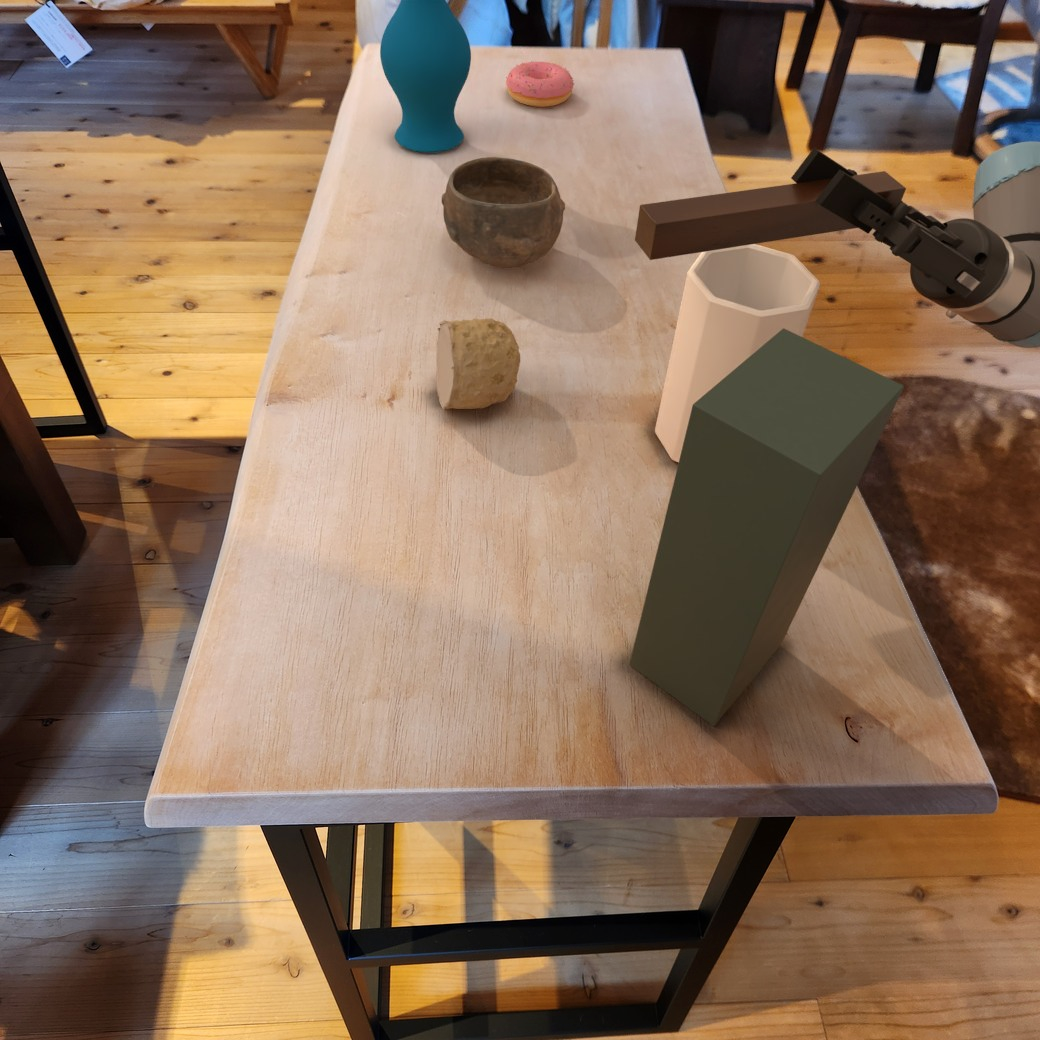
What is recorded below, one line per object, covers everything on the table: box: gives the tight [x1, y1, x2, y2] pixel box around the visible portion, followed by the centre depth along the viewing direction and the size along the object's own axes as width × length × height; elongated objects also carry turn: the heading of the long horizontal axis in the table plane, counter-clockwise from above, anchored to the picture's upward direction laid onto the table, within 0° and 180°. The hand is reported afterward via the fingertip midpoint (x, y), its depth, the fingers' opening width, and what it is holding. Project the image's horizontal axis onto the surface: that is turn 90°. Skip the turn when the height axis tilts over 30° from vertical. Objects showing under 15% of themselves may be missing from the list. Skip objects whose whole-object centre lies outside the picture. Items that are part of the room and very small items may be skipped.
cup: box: [654, 244, 821, 463], centre depth 78 cm, size 11×11×18 cm
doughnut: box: [505, 60, 575, 108], centre depth 137 cm, size 11×11×4 cm
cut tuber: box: [436, 317, 521, 410], centre depth 85 cm, size 10×10×10 cm
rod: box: [634, 170, 907, 261], centre depth 67 cm, size 3×22×3 cm, turn 108°
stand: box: [628, 328, 905, 727], centre depth 58 cm, size 8×10×27 cm
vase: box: [379, 0, 472, 154], centre depth 117 cm, size 12×13×28 cm
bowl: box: [441, 156, 566, 270], centre depth 103 cm, size 14×15×10 cm
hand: (817, 176), depth 66 cm, fingers closed on rod, 3 cm apart
